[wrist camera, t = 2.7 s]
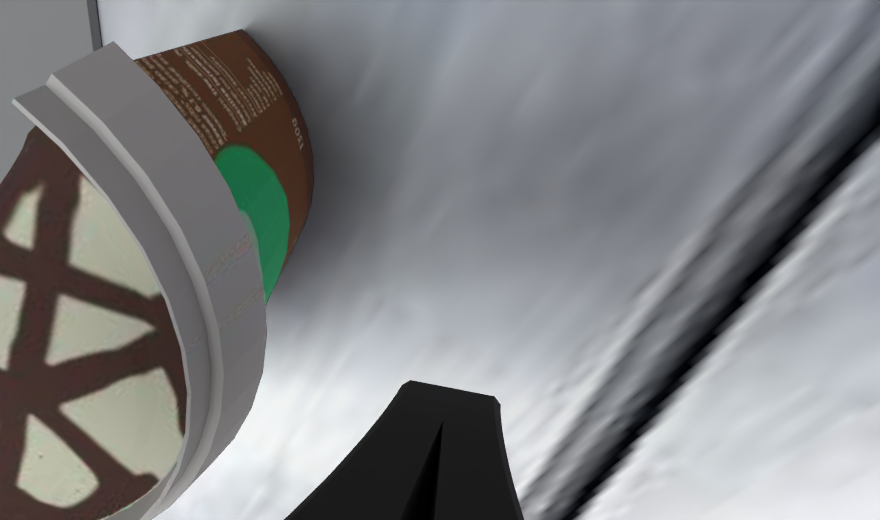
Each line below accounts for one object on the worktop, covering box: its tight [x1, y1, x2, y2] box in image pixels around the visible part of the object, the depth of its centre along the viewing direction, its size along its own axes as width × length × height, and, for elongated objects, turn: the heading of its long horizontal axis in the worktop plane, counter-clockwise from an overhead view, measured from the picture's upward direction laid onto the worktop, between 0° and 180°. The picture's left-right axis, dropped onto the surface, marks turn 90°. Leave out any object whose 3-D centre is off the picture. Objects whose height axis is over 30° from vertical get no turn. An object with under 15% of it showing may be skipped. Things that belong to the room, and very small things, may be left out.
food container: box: [0, 29, 314, 520], centre depth 17 cm, size 12×6×10 cm, turn 136°
